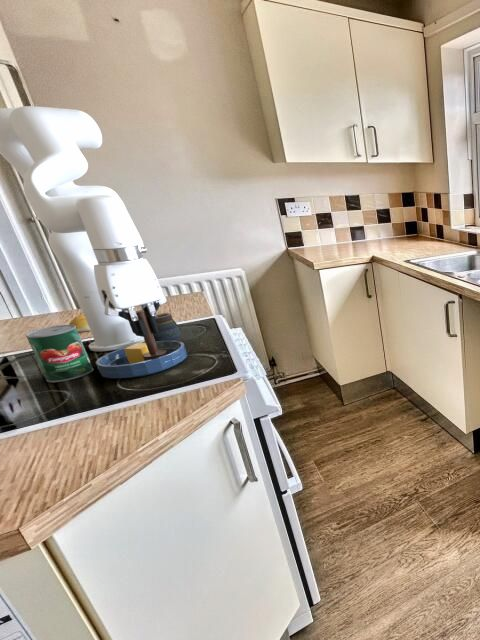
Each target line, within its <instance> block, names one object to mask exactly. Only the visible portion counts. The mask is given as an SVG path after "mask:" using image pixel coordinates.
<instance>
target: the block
mask: <svg viewBox="0 0 480 640" xmlns="http://www.w3.org/2000/svg"><path fill="white" fill-rule="evenodd" d="M124 350H125V353H126V355H127V358H128V361H129V363H130V364H134V363H139V362H144V361H145V360H144V358H143V355H144V354H145V353H148V352H149V351H148V348H147V345H146V343H145V342H142V343H137V344H135V345H132V346H130V347H128V348H125V349H124Z"/></svg>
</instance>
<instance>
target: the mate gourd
mask: <svg viewBox="0 0 480 640" xmlns="http://www.w3.org/2000/svg"><path fill="white" fill-rule="evenodd" d="M155 318H156V321H157V324H158V331H159V332H158V333H153V336H154V339H155V341H166V340H174V341H180V339H181V335H182V333H181V332H182V330H181V327H180V325H179V324H177V322H176V321H175V320H174V319H173V316H172V313H170V312H161V313H157V314H156V315H155Z"/></svg>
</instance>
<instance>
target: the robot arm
mask: <svg viewBox="0 0 480 640" xmlns="http://www.w3.org/2000/svg"><path fill="white" fill-rule="evenodd" d="M102 144H103V135H102V131H101V129H100V127H99V125H98V124H97V122H96V121H95V119H94V118H93V117H92V116H91V115H89V114H88V113H86V112H85V111H82V110H79V109H75V108H74V109H73V108H61V107H49V106H37V105H24V106H19V107H16V108H13V107H0V155H1V156H2V157H3V158H4V159H5V161H7V163H8V164H10V165H11V166H12V167H13V168H14V169H15V171H17V173H18V174H19V175H20V176H21V178H22V180H23V183H22V186H23V192H24V196H25V198H26V200H27V202H28V204H29V205H30V207H31V208H32V210H33V212H34V214H35V215H36V218H38V220H39V222H40V224H42V225H43V227H45V228H46V229H47V230H48V231H50V233H49V235H48V244H49V247H50V248H51V251H52V252H53V254H54V256H55V257H56V259H57V260H58V262H59V263H60V265H61V266H62V268H63V270H64V272H65V274H66V276H67V278H68V280H69V282H70V284H71V287H72V290H73V292H74V294H75V297H76V299H77V301H78V304H79V306H80V309H81V312H82V313H83V314H82V315H84V316H85V318H86V321H87V323H88V326H89V328H90V331H89V332H90V334H91V335H92V337H93V340H94V341H92V342H91V343H89V344H88V348H89V351H92V352H112V351H116V350H119V349H122V348H125V347H129V346H132V345H135V344H137V343H145V340H144V337H145V336H146V335H147V333H146V330H145V328H144V325H143V322H142V320H139V319H138V317H137V314H136V311H137V310H136V309H135V307H139V306H140V307H141V310H144V311H145V314H146V316H147V319H148V322H149V325H150V328H151V330H152V333H158V332H159V331H158V324H157V321H156V318H155V315H156V314H158V313H157V312H158V310H159V309H160V308H161V306H163V305H164V304H165V303H167V302H168V299H167V297H166V296H165V295H164V294H163V290H162V287H161V284H160V282H159V280H158V278H157V275H156V274H155V272H154V270H153V268H152V266H151V264H150V263H149V261H148V260H147V258H144V255H143V254H145V253H146V254H147V251H148V250H147V248H146V247H145V246H144V241H143V239H142V237H141V235H140V232H139V231H138V229H137V227H136V225H135V224H134V220H133V219H132V217H131V215H130V213H129V212H128V210H127V207H126V204H125V203H124V201H123V200H122V198H121V197H120V196H119V194H118V193H117V192H116V191H115V190H114V189H112V188H111V187H108V186H105V185H78V184H75V183H74V181H75V180H79V178H80V179H81V178H82V177H83V176H84V175H85V174H86V173H87V172H88V169H89V163H88V161H87V159H86V157H85V156H84V154H83V153H82V151H81V150H95V149H99V148H100V147H101V146H102Z"/></svg>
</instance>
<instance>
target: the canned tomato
mask: <svg viewBox="0 0 480 640" xmlns="http://www.w3.org/2000/svg"><path fill="white" fill-rule="evenodd" d="M79 333H80V332H78V331H77V329H76V326H75V325H69V324H60V325H54V326H48V327H44V328H39V329H36V330H32V331H30V332H27V333H26V334H25V337H26V339H27V341H28V343H29V345H30V348H31V350H32V352H33V354H34V356H35V359H36V361H37V362H38V363H37V364H38V365H39V367H40V369H41V371H42V374H43V376H44V377H45V381H46V382H47V383H61V382H62V383H63V382H67V381H71V380H75V379H79V378H82V377H85V376H87V375H89V374H91V373H92V372H94V368H93V367H94V366H93V365H92V363H91V360H90V357H89V355H88V352H87V351H86V348H85V345H84V343H83V341H82V339H81V336H80V334H79Z"/></svg>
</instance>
